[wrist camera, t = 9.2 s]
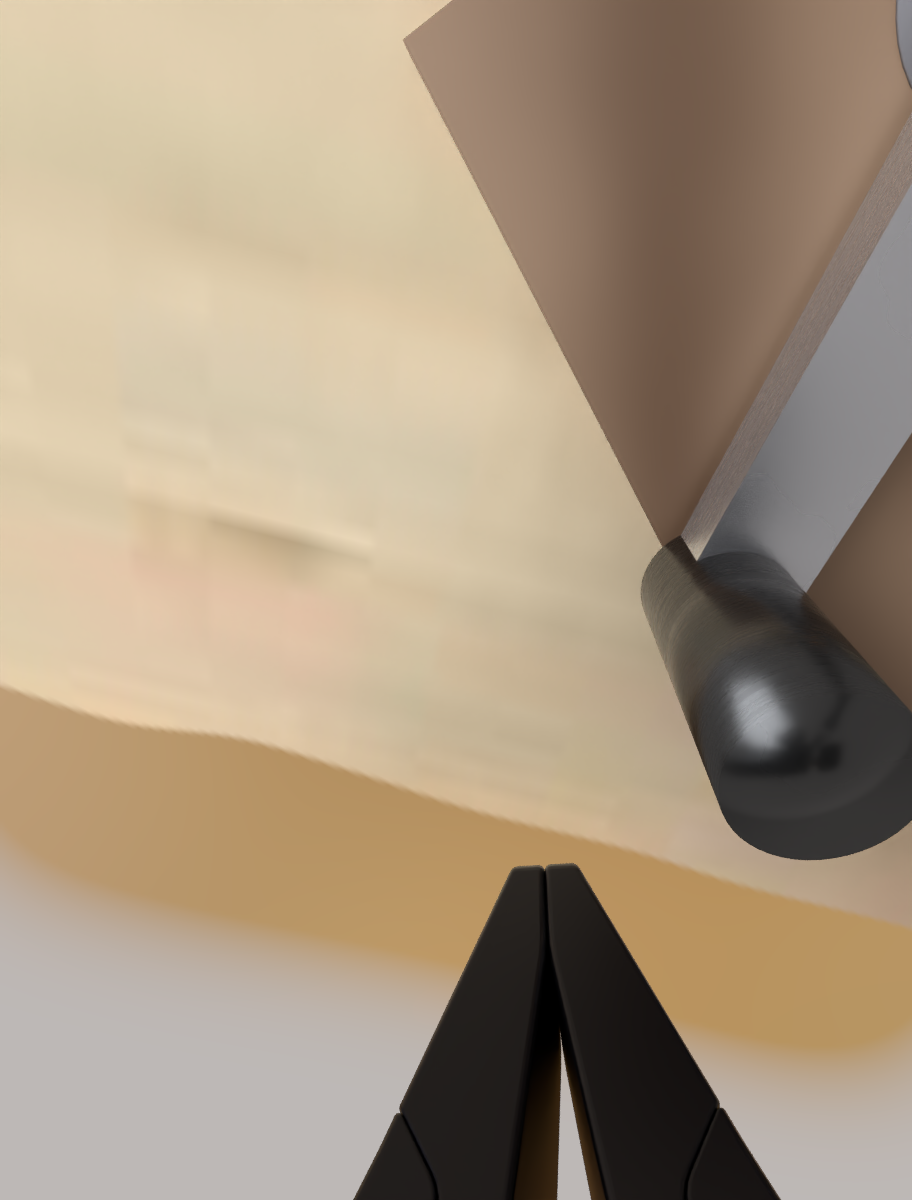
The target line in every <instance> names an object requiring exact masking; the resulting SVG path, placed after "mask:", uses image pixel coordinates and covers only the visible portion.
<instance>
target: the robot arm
mask: <svg viewBox="0 0 912 1200" xmlns="http://www.w3.org/2000/svg"><path fill="white" fill-rule="evenodd" d="M560 1033H561V1037H560ZM561 1040H562V1047H563V1053H564V1060H565V1065H566V1072H567V1077H568V1082H569V1087H570V1092H571V1097H572V1103H573V1107H574V1112H575V1118H576V1123H577V1129H578V1134H579V1139H580V1144H581V1149H582V1155H583V1160H584V1165H585V1170H586V1175H587V1180H588V1185H589V1191H590V1196H591V1200H781V1199H780V1198H779V1196H778V1194H777V1193H776V1191H775V1190H774V1188H773V1187H772V1185H771V1183H770V1182H769V1180H768V1179H767V1177H766V1176H765V1174H764V1172H763V1171H762V1169H761V1168H760V1166H759V1165H758V1163H757V1161H756V1160H755V1159H754V1157H753V1155H752V1154H751V1152H750V1151H749V1149H748V1147H747V1146H746V1144H745V1143H744V1141H743V1139H742V1138H741V1136H740V1134H739V1133H738V1131H737V1130H736V1128H735V1126H734V1124H733V1123H732V1121H731V1120H730V1118H729V1116H728V1114H727V1113H726V1111H725V1110H724V1109H723V1108H720V1103H719V1100H718V1098H717V1097H716V1095H715V1094H714V1092H713V1090H712V1088H711V1087H710V1085H709V1083H708V1082H707V1080H706V1079H705V1077H704V1075H703V1073H702V1072H701V1070H700V1068H699V1067H698V1065H697V1064H696V1062H695V1060H694V1058H693V1057H692V1055H691V1053H690V1052H689V1050H688V1048H687V1047H686V1045H685V1043H684V1042H683V1040H682V1038H681V1037H680V1035H679V1033H678V1032H677V1030H676V1028H675V1027H674V1025H673V1023H672V1022H671V1020H670V1018H669V1017H668V1015H667V1013H666V1012H665V1010H664V1008H663V1007H662V1005H661V1003H660V1002H659V1000H658V998H657V997H656V995H655V993H654V992H653V990H652V988H651V987H650V985H649V983H648V982H647V980H646V978H645V977H644V975H643V973H642V972H641V970H640V968H639V967H638V965H637V963H636V962H635V960H634V958H633V957H632V955H631V953H630V952H629V950H628V948H627V947H626V945H625V943H624V942H623V940H622V938H621V937H620V935H619V933H618V932H617V930H616V928H615V927H614V925H613V923H612V922H611V920H610V918H609V917H608V915H607V913H606V912H605V910H604V908H603V907H602V905H601V903H600V902H599V900H598V898H597V897H596V895H595V893H594V892H593V891H592V888H591V887H590V885H589V883H588V882H587V880H586V878H585V877H584V875H583V873H582V872H581V870H580V868H579V867H578V866H577V865H576V864H574V863H569V864H568V863H566V864H550V865H548V866H547V867H546V868H545V870H544V868H543V867H542V866H540V865H533V866H518V867H514V868H513V869H512V870H511V872H510V873H509V875H508V878H507V880H506V882H505V884H504V886H503V888H502V890H501V893H500V894H499V897H498V899H497V901H496V903H495V905H494V907H493V909H492V912H491V914H490V916H489V918H488V920H487V922H486V924H485V927H484V929H483V931H482V933H481V935H480V937H479V939H478V941H477V944H476V945H475V947H474V950H473V952H472V954H471V956H470V958H469V960H468V962H467V964H466V967H465V969H464V971H463V973H462V975H461V977H460V980H459V981H458V984H457V986H456V988H455V990H454V992H453V994H452V996H451V999H450V1000H449V1003H448V1005H447V1007H446V1009H445V1011H444V1013H443V1015H442V1017H441V1020H440V1022H439V1024H438V1026H437V1028H436V1030H435V1032H434V1034H433V1037H432V1039H431V1041H430V1043H429V1045H428V1047H427V1049H426V1051H425V1053H424V1056H423V1058H422V1060H421V1062H420V1064H419V1066H418V1068H417V1070H416V1072H415V1075H414V1077H413V1079H412V1081H411V1083H410V1085H409V1087H408V1089H407V1092H406V1094H405V1096H404V1098H403V1100H402V1102H401V1104H400V1108H399V1109H400V1113H401V1114H400V1113H397V1114H396V1115H395V1116H394V1119H393V1121H392V1123H391V1125H390V1127H389V1129H388V1131H387V1134H386V1135H385V1137H384V1140H383V1142H382V1144H381V1146H380V1148H379V1150H378V1152H377V1154H376V1156H375V1158H374V1160H373V1162H372V1164H371V1166H370V1168H369V1170H368V1172H367V1174H366V1176H365V1178H364V1180H363V1182H362V1184H361V1186H360V1188H359V1190H358V1191H357V1193H356V1196H355V1198H354V1199H353V1200H557V1188H558V1184H557V1183H558V1154H559V1123H560V1121H559V1120H560V1090H561Z"/></svg>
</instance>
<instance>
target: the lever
mask: <svg viewBox="0 0 912 1200" xmlns="http://www.w3.org/2000/svg"><path fill="white" fill-rule="evenodd" d="M911 433H912V113H911V115H910V116H909V118H908V120H907V122H906V124H905V125H904V127H903V129H902V131H901V133H900V135H899V136H898V138H897V140H896V142H895V144H894V146H893V147H892V149H891V151H890V153H889V155H888V157H887V158H886V160H885V162H884V164H883V166H882V168H881V169H880V171H879V173H878V175H877V177H876V178H875V180H874V182H873V184H872V186H871V188H870V189H869V191H868V193H867V195H866V197H865V199H864V200H863V202H862V204H861V206H860V208H859V210H858V211H857V213H856V215H855V217H854V219H853V221H852V222H851V224H850V226H849V228H848V230H847V232H846V233H845V235H844V237H843V239H842V241H841V242H840V244H839V246H838V248H837V250H836V252H835V253H834V255H833V257H832V259H831V261H830V263H829V264H828V266H827V268H826V270H825V272H824V274H823V275H822V277H821V279H820V281H819V283H818V285H817V286H816V288H815V290H814V292H813V294H812V296H811V297H810V299H809V301H808V303H807V305H806V306H805V308H804V310H803V312H802V314H801V316H800V317H799V319H798V321H797V323H796V325H795V327H794V328H793V330H792V332H791V334H790V336H789V338H788V339H787V341H786V343H785V345H784V347H783V349H782V350H781V352H780V354H779V356H778V358H777V360H776V361H775V363H774V365H773V367H772V369H771V370H770V372H769V374H768V376H767V378H766V380H765V381H764V383H763V385H762V387H761V389H760V391H759V392H758V394H757V396H756V398H755V400H754V402H753V403H752V405H751V407H750V409H749V411H748V413H747V414H746V416H745V418H744V420H743V422H742V424H741V425H740V427H739V429H738V431H737V433H736V434H735V436H734V438H733V440H732V442H731V444H730V445H729V447H728V449H727V451H726V453H725V455H724V456H723V458H722V460H721V462H720V464H719V466H718V467H717V469H716V471H715V473H714V475H713V477H712V478H711V480H710V482H709V484H708V486H707V488H706V489H705V491H704V493H703V495H702V497H701V498H700V500H699V502H698V504H697V506H696V508H695V509H694V511H693V513H692V515H691V517H690V519H689V520H688V522H687V524H686V526H685V528H684V530H683V531H682V533H681V535H680V536H678V537H676V538H674V539H673V540H671V541H670V542H669V543H667V544H666V545H665V546H664V547H663V548H662V549H661V550H660V551H658V553H657V554H656V555H655V556H654V558H653V559H652V560H651V562H650V564H649V565H648V567H647V569H646V572H645V574H644V577H643V580H642V586H641V600H642V605H643V609H644V612H645V614H646V617H647V620H648V622H649V625H650V627H651V630H652V632H653V635H654V638H655V640H656V643H657V645H658V648H659V651H660V653H661V656H662V658H663V661H664V663H665V666H666V669H667V671H668V674H669V676H670V679H671V682H672V684H673V687H674V689H675V692H676V694H677V697H678V700H679V702H680V705H681V707H682V710H683V713H684V715H685V718H686V720H687V723H688V725H689V728H690V731H691V733H692V736H693V738H694V741H695V744H696V746H697V749H698V751H699V754H700V756H701V759H702V762H703V764H704V767H705V769H706V772H707V775H708V777H709V780H710V782H711V785H712V788H713V790H714V793H715V795H716V798H717V800H718V803H719V806H720V808H721V811H722V813H723V815H724V817H725V819H726V821H727V823H728V824H729V825H730V827H731V828H732V830H733V831H734V832H735V833H736V834H737V835H738V836H739V837H740V838H742V839H743V840H744V841H746V842H747V843H748V844H750V845H752V846H754V847H755V848H757V849H759V850H762V851H764V852H766V853H769V854H772V855H776V856H779V857H784V858H790V859H798V860H823V859H831V858H838V857H842V856H847V855H851V854H854V853H857V852H860V851H863V850H865V849H868V848H870V847H873V846H875V845H877V844H879V843H881V842H883V841H885V840H887V839H888V838H890V837H891V836H893V835H894V834H896V833H897V832H899V831H900V830H901V829H902V828H904V827H905V826H906V825H907V824H908V823H909V822H910V821H911V820H912V712H911V711H910V710H909V709H908V708H907V706H906V705H905V704H904V703H903V702H902V701H901V700H900V698H899V697H898V696H897V695H896V694H895V693H894V692H893V691H892V689H891V688H890V687H889V686H888V685H887V684H886V683H885V682H884V680H883V679H882V678H881V677H880V676H879V675H878V674H877V673H876V671H875V670H874V669H873V668H872V667H871V666H870V665H869V664H868V662H867V661H866V660H865V659H864V658H863V657H862V656H861V654H860V653H859V652H858V651H857V650H856V649H855V648H854V647H853V645H852V644H851V643H850V642H849V641H848V640H847V639H846V638H845V636H844V635H843V634H842V633H841V632H840V631H839V630H838V629H837V627H836V626H835V625H834V624H833V623H832V622H831V621H830V620H829V618H828V617H827V616H826V615H825V614H824V613H823V612H822V610H821V609H820V608H819V607H818V606H817V605H816V604H815V603H814V601H813V600H812V599H811V598H810V597H809V596H808V595H807V594H806V592H807V590H808V589H809V587H810V586H811V584H812V583H813V581H814V580H815V578H816V577H817V575H818V574H819V572H820V571H821V569H822V568H823V566H824V565H825V563H826V562H827V560H828V559H829V557H830V556H831V554H832V553H833V551H834V550H835V548H836V547H837V545H838V544H839V542H840V541H841V539H842V538H843V536H844V534H845V533H846V531H847V530H848V528H849V527H850V525H851V524H852V522H853V521H854V519H855V518H856V516H857V515H858V513H859V512H860V510H861V509H862V507H863V506H864V504H865V503H866V501H867V500H868V498H869V497H870V495H871V494H872V492H873V491H874V489H875V488H876V486H877V485H878V483H879V482H880V480H881V478H882V477H883V475H884V474H885V472H886V471H887V469H888V468H889V466H890V465H891V463H892V462H893V460H894V459H895V457H896V456H897V454H898V453H899V451H900V450H901V448H902V447H903V445H904V444H905V442H906V441H907V439H908V438H909V436H910V435H911Z"/></svg>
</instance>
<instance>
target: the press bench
mask: <svg viewBox="0 0 912 1200" xmlns="http://www.w3.org/2000/svg"><path fill="white" fill-rule="evenodd" d="M403 41H404V43H405V45H406V48H407V50H408V52H409V54H410V56H411V58H412V60H413V62H414V64H415V66H416V68H417V69H418V71H419V73H420V75H421V77H422V79H423V81H424V83H425V85H426V87H427V89H428V91H429V93H430V95H431V97H432V99H433V101H434V103H435V105H436V106H437V108H438V110H439V112H440V114H441V116H442V118H443V120H444V122H445V124H446V126H447V128H448V130H449V132H450V134H451V136H452V138H453V140H454V142H455V143H456V145H457V147H458V149H459V151H460V153H461V155H462V157H463V159H464V161H465V163H466V165H467V167H468V169H469V171H470V173H471V175H472V177H473V179H474V180H475V182H476V184H477V186H478V188H479V190H480V192H481V194H482V196H483V198H484V200H485V202H486V204H487V206H488V208H489V210H490V212H491V214H492V216H493V217H494V219H495V221H496V223H497V225H498V227H499V229H500V231H501V233H502V235H503V237H504V239H505V241H506V243H507V245H508V247H509V249H510V251H511V253H512V255H513V256H514V258H515V260H516V262H517V264H518V266H519V268H520V270H521V272H522V274H523V276H524V278H525V280H526V282H527V284H528V286H529V288H530V290H531V292H532V293H533V295H534V297H535V299H536V301H537V303H538V305H539V307H540V309H541V311H542V313H543V315H544V317H545V319H546V321H547V323H548V325H549V327H550V329H551V330H552V332H553V334H554V336H555V338H556V340H557V342H558V344H559V346H560V348H561V350H562V352H563V354H564V356H565V358H566V360H567V362H568V364H569V366H570V367H571V369H572V371H573V373H574V375H575V377H576V379H577V381H578V383H579V385H580V387H581V389H582V391H583V393H584V395H585V397H586V399H587V401H588V403H589V404H590V406H591V408H592V410H593V412H594V414H595V416H596V418H597V420H598V422H599V424H600V426H601V428H602V430H603V432H604V434H605V436H606V438H607V440H608V441H609V443H610V445H611V447H612V449H613V451H614V453H615V455H616V457H617V459H618V461H619V463H620V465H621V467H622V469H623V471H624V473H625V475H626V477H627V479H628V480H629V482H630V484H631V486H632V488H633V490H634V492H635V494H636V496H637V498H638V500H639V502H640V504H641V506H642V508H643V510H644V512H645V514H646V516H647V517H648V519H649V521H650V523H651V525H652V527H653V529H654V531H655V533H656V535H657V537H658V539H659V541H660V543H661V545H662V547H664V546H665V545H666V544H667V543H669V542H670V541H671V540H673V539H674V538H676V537H678V536H680V535H681V533H682V531H683V530H684V528H685V526H686V524H687V522H688V520H689V519H690V517H691V515H692V513H693V511H694V509H695V508H696V506H697V504H698V502H699V500H700V498H701V497H702V495H703V493H704V491H705V489H706V488H707V486H708V484H709V482H710V480H711V478H712V477H713V475H714V473H715V471H716V469H717V467H718V466H719V464H720V462H721V460H722V458H723V456H724V455H725V453H726V451H727V449H728V447H729V445H730V444H731V442H732V440H733V438H734V436H735V434H736V433H737V431H738V429H739V427H740V425H741V424H742V422H743V420H744V418H745V416H746V414H747V413H748V411H749V409H750V407H751V405H752V403H753V402H754V400H755V398H756V396H757V394H758V392H759V391H760V389H761V387H762V385H763V383H764V381H765V380H766V378H767V376H768V374H769V372H770V370H771V369H772V367H773V365H774V363H775V361H776V360H777V358H778V356H779V354H780V352H781V350H782V349H783V347H784V345H785V343H786V341H787V339H788V338H789V336H790V334H791V332H792V330H793V328H794V327H795V325H796V323H797V321H798V319H799V317H800V316H801V314H802V312H803V310H804V308H805V306H806V305H807V303H808V301H809V299H810V297H811V296H812V294H813V292H814V290H815V288H816V286H817V285H818V283H819V281H820V279H821V277H822V275H823V274H824V272H825V270H826V268H827V266H828V264H829V263H830V261H831V259H832V257H833V255H834V253H835V252H836V250H837V248H838V246H839V244H840V242H841V241H842V239H843V237H844V235H845V233H846V232H847V230H848V228H849V226H850V224H851V222H852V221H853V219H854V217H855V215H856V213H857V211H858V210H859V208H860V206H861V204H862V202H863V200H864V199H865V197H866V195H867V193H868V191H869V189H870V188H871V186H872V184H873V182H874V180H875V178H876V177H877V175H878V173H879V171H880V169H881V168H882V166H883V164H884V162H885V160H886V158H887V157H888V155H889V153H890V151H891V149H892V147H893V146H894V144H895V142H896V140H897V138H898V136H899V135H900V133H901V131H902V129H903V127H904V125H905V124H906V122H907V120H908V118H909V116H910V115H911V113H912V0H452V1H451V2H450V3H449V4H447V5H446V6H445V7H443V8H442V9H441V10H440V11H438V12H437V13H436V14H435V15H433V16H432V17H431V18H430V19H428V20H427V21H426V22H424V23H423V24H422V25H421V26H419V27H418V28H417V29H416V30H414V31H413V32H412V33H411V34H409V35H408V36H407V37H406V38H404V39H403ZM806 594H807V595H808V596H809V597H810V598H811V599H812V600H813V601H814V603H815V604H816V605H817V606H818V607H819V608H820V609H821V610H822V612H823V613H824V614H825V615H826V616H827V617H828V618H829V620H830V621H831V622H832V623H833V624H834V625H835V626H836V627H837V629H838V630H839V631H840V632H841V633H842V634H843V635H844V636H845V638H846V639H847V640H848V641H849V642H850V643H851V644H852V645H853V647H854V648H855V649H856V650H857V651H858V652H859V653H860V654H861V656H862V657H863V658H864V659H865V660H866V661H867V662H868V664H869V665H870V666H871V667H872V668H873V669H874V670H875V671H876V673H877V674H878V675H879V676H880V677H881V678H882V679H883V680H884V682H885V683H886V684H887V685H888V686H889V687H890V688H891V689H892V691H893V692H894V693H895V694H896V695H897V696H898V697H899V698H900V700H901V701H902V702H903V703H904V704H905V705H906V706H907V708H908V709H909V710H910V711H911V712H912V433H911V435H910V436H909V438H908V439H907V441H906V442H905V444H904V445H903V447H902V448H901V450H900V451H899V453H898V454H897V456H896V457H895V459H894V460H893V462H892V463H891V465H890V466H889V468H888V469H887V471H886V472H885V474H884V475H883V477H882V478H881V480H880V482H879V483H878V485H877V486H876V488H875V489H874V491H873V492H872V494H871V495H870V497H869V498H868V500H867V501H866V503H865V504H864V506H863V507H862V509H861V510H860V512H859V513H858V515H857V516H856V518H855V519H854V521H853V522H852V524H851V525H850V527H849V528H848V530H847V531H846V533H845V534H844V536H843V538H842V539H841V541H840V542H839V544H838V545H837V547H836V548H835V550H834V551H833V553H832V554H831V556H830V557H829V559H828V560H827V562H826V563H825V565H824V566H823V568H822V569H821V571H820V572H819V574H818V575H817V577H816V578H815V580H814V581H813V583H812V584H811V586H810V587H809V589H808V590H807V592H806Z"/></svg>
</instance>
